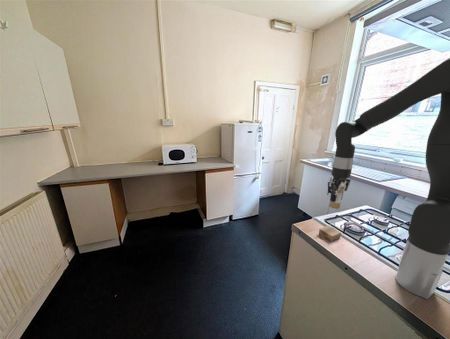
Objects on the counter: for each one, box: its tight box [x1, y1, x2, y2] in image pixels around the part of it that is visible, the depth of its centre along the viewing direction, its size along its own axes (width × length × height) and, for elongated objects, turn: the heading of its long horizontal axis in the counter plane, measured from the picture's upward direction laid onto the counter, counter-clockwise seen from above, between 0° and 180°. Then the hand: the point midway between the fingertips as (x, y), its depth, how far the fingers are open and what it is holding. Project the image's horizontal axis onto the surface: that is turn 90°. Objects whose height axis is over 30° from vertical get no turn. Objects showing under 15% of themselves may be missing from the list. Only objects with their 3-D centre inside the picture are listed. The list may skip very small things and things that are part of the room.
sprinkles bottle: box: [328, 182, 345, 210], centre depth 86 cm, size 5×5×13 cm
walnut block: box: [318, 225, 342, 242], centre depth 92 cm, size 7×7×3 cm
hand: (335, 200), depth 87 cm, fingers closed on sprinkles bottle, 4 cm apart
